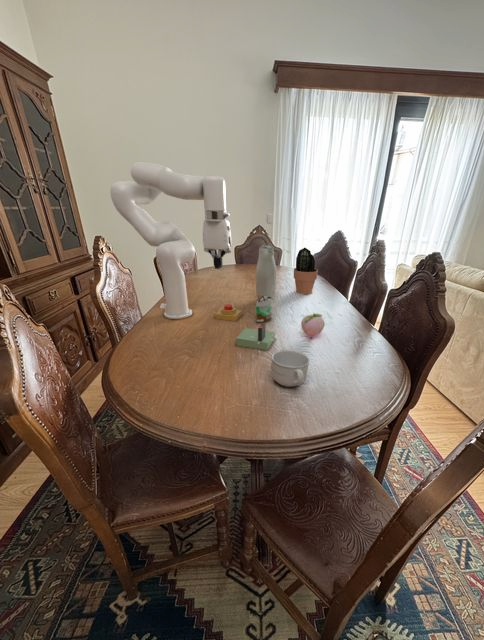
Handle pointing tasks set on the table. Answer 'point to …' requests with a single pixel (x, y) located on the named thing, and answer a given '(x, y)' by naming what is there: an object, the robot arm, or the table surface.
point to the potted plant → (305, 272)
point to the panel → (255, 339)
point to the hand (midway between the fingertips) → (218, 268)
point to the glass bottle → (266, 272)
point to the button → (228, 307)
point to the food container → (263, 308)
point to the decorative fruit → (312, 324)
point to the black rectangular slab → (261, 332)
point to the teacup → (289, 367)
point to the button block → (228, 314)
